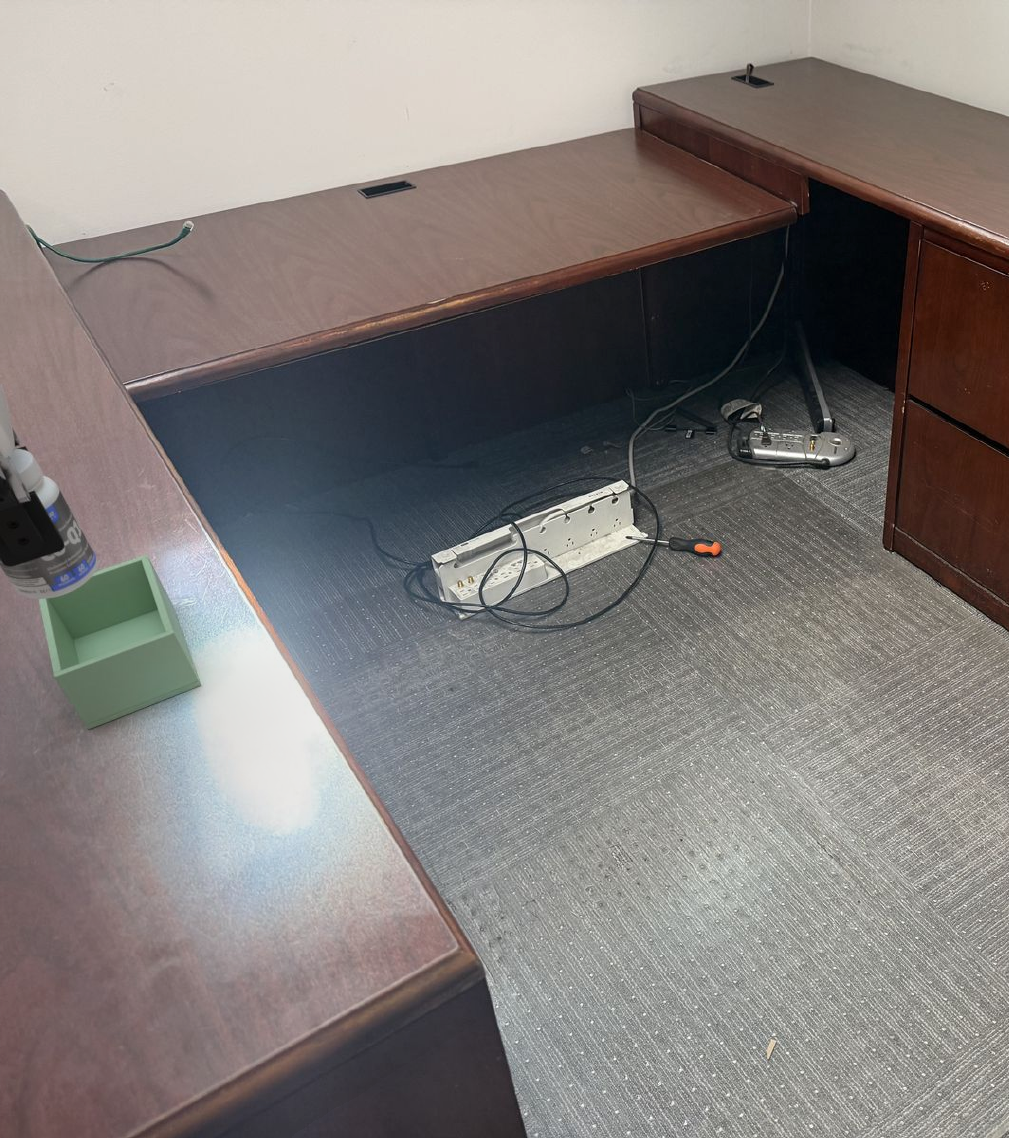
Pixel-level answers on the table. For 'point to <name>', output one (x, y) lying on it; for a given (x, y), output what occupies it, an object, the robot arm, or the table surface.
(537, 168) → the table surface
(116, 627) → the bin
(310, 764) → the table surface
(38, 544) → the robot arm
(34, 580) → the pill bottle
